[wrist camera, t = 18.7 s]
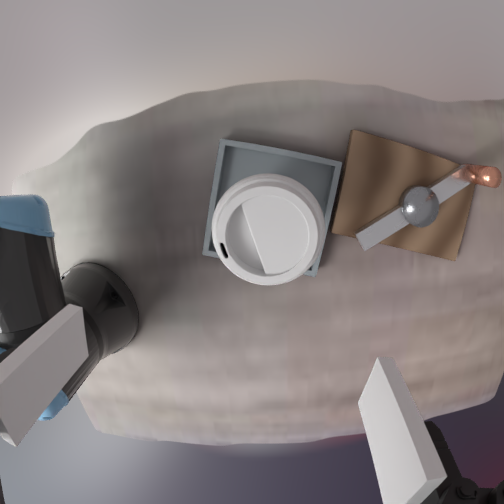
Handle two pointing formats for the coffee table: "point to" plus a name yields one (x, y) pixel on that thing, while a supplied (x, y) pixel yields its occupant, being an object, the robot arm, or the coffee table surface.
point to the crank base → (398, 194)
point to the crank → (425, 202)
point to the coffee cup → (268, 229)
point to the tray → (274, 162)
